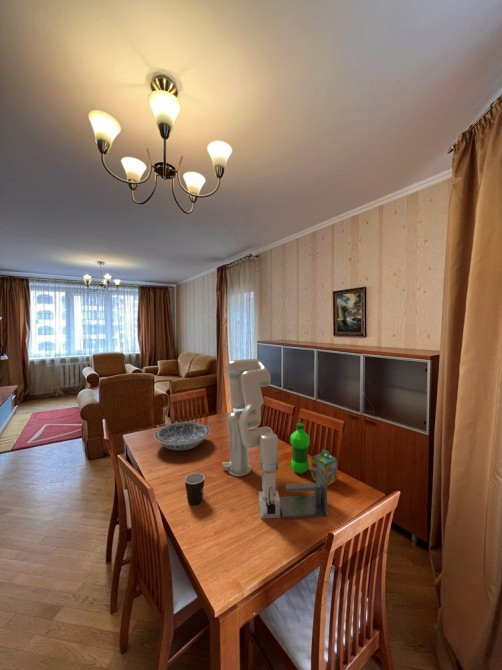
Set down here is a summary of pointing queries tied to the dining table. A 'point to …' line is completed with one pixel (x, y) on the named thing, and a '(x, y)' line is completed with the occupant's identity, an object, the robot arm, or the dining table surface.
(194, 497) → the dark grey cup
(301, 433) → the plastic bottle
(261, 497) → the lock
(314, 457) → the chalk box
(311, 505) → the bracket
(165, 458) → the dining table surface
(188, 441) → the ceramic bowl
